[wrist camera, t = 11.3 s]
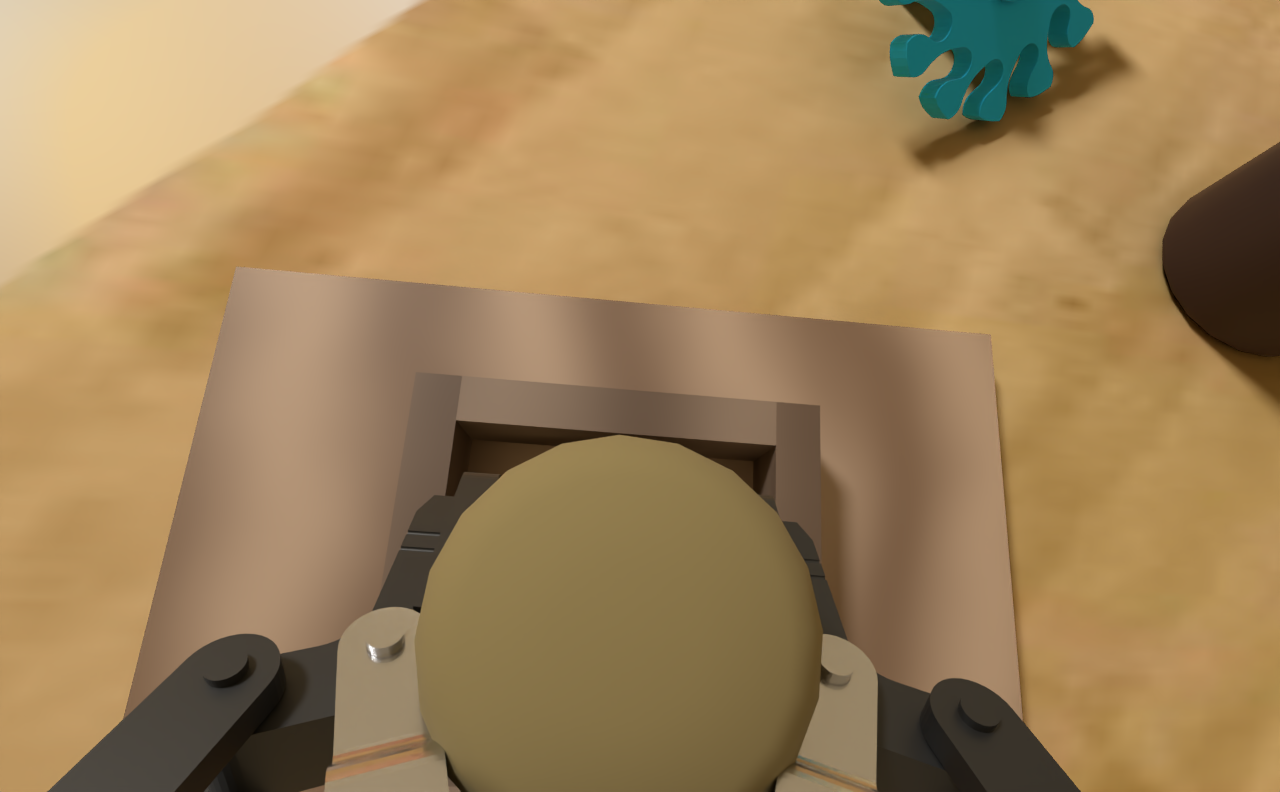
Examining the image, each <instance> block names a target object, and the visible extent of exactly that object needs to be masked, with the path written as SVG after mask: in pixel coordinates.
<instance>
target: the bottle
mask: <svg viewBox="0 0 1280 792" xmlns="http://www.w3.org/2000/svg"><path fill="white" fill-rule="evenodd" d="M1163 267H1164V270H1165V273H1166V276H1167V279H1168V282H1169V285H1170V288H1171V291H1172V293H1173V294H1174V296H1175V297H1176V299H1177V300H1178V301H1179V303H1180V304H1181V306H1182V307H1183V309H1184V310H1185V312H1186V313H1187V315H1188V316H1189V317H1190V318H1192V319H1193V320H1194V321H1195V322H1196V323H1197V324H1198V325H1199V326H1201V327H1202V328H1203V329H1204V330H1205V331H1206V332H1207V333H1208V334H1210V335H1211V336H1212V337H1214V338H1216V339H1218V340H1220V341H1222V342H1224V343H1226V344H1228V345H1229V346H1231V347H1233V348H1235V349H1237V350H1239V351H1244V352H1248V353H1253V354H1257V355H1262V356H1266V357H1267V356H1280V142H1279V143H1277V144H1276V145H1274V146H1273V147H1271V148H1269V149H1268V150H1266V151H1265V152H1263V153H1262V154H1260V155H1258V156H1257V157H1255V158H1254V159H1252V160H1250V161H1249V162H1247V163H1246V164H1244V165H1242V166H1241V167H1239V168H1238V169H1236V170H1234V171H1233V172H1231V173H1230V174H1228V175H1227V176H1225V177H1223V178H1222V179H1220V180H1219V181H1217V182H1215V183H1214V184H1212V185H1211V186H1209V187H1207V188H1206V189H1204V190H1203V191H1201V192H1199V193H1198V194H1196V195H1195V196H1193V197H1192V198H1190V199H1189V200H1188V201H1187V202H1186V203H1185V204H1184V205H1183V206H1182V207H1181V208H1180V209H1179V210H1178V211H1177V212H1176V213H1175V215H1174V216H1173V217H1172V218H1171V219H1170V222H1169V224H1168V227H1167V230H1166V232H1165V235H1164V238H1163Z"/></svg>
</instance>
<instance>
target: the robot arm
mask: <svg viewBox="0 0 1280 792" xmlns="http://www.w3.org/2000/svg"><path fill="white" fill-rule="evenodd" d="M500 477H501V475H500V474H487V473H474V472H464V473H463V475H462V477H461V480H460V482H459V485H458V488H457V490H456V493H455V496H441V495H434V496H433V497H432V498H431V499H429V500H428V501H427V502H426V503H425V504H424V505H423V506H422V507H420V508H419V509H418V510H417V511H416V513H415V515H414V518H413V520H412V522H411V524H410V527H409V529H408V534H406V536H405V538H404V540H403V542H402V545H401V549H400V550H399V551H398V554H397V556H396V558H395V560H394V563H393V565H392V567H391V569H390V572H389V574H388V576H387V578H386V581H385V583H384V585H383V588H382V590H381V592H380V594H379V597H378V599H377V601H376V603H375V606H374V608H373V610H372V612H369V613H367V614H365V615H363V616H361V617H360V618H358V619H357V620H355V621H354V622H353V623H352V624H351V625H350V626H349V627H348V628H347V629H346V630H345V632H344V633H343V635H342V636H341V638H340V639H338V640H336V641H333V642H331V643H328V644H324V645H320V646H316V647H311V648H306V649H301V650H296V651H291V652H286V653H282V654H280V651H279V649H278V647H277V645H276V644H275V643H274V642H273V641H272V640H270V639H269V638H267V637H264V636H262V635H257V634H236V635H231V636H227V637H224V638H220V639H218V640H216V641H213V642H211V643H209V644H207V645H205V646H203V647H202V648H200V649H199V650H197V651H196V652H194V653H193V654H192V655H191V656H190V657H188V658H187V659H186V660H185V661H184V662H183V663H182V664H181V665H180V666H179V667H178V668H177V669H176V670H175V671H174V672H173V673H171V674H170V675H169V676H168V677H167V678H166V679H165V680H164V681H163V682H162V683H161V684H160V685H159V686H158V687H157V688H156V689H155V690H154V691H153V692H152V693H151V694H149V695H148V696H147V697H146V698H145V699H144V700H143V701H142V702H141V703H140V704H139V705H138V706H137V707H136V708H135V709H134V710H133V711H132V712H131V713H130V714H128V715H127V716H126V717H125V718H124V719H123V720H122V721H121V722H120V723H119V724H118V725H117V726H116V727H115V728H114V729H113V730H112V731H111V732H110V733H109V734H108V735H106V736H105V737H104V738H103V739H102V740H101V741H100V742H99V743H98V744H97V745H96V746H95V747H94V748H93V749H92V750H91V751H90V752H89V753H88V754H87V755H85V756H84V757H83V758H82V759H81V760H80V761H79V762H78V763H77V764H76V765H75V766H74V767H73V768H72V769H71V770H70V771H69V772H68V773H67V774H66V775H65V776H63V777H62V778H61V779H60V780H59V781H58V782H57V783H56V784H55V785H54V786H53V787H52V788H51V789H50V790H49V791H48V792H300V791H304V790H308V789H311V788H315V787H319V786H323V785H325V789H324V792H449V787H448V777H447V768H446V758H445V750H444V749H443V748H442V746H441V745H440V744H439V743H437V742H436V741H434V740H432V738H431V736H430V734H429V731H428V729H427V726H426V724H425V721H424V719H423V717H422V714H421V712H420V706H419V693H418V681H417V668H416V656H415V643H414V639H415V634H416V630H417V625H418V621H419V616H420V612H421V607H422V603H423V598H424V594H425V589H426V585H427V581H428V576H429V572H430V569H431V568H432V566H433V564H434V562H435V560H436V559H437V557H438V555H439V553H440V552H441V550H442V548H443V546H444V545H445V543H446V541H447V539H448V538H449V536H450V534H451V532H452V530H453V529H454V527H455V525H456V523H457V522H458V520H459V518H460V516H461V515H462V513H463V512H464V511H465V510H466V509H468V508H469V507H470V506H471V505H472V504H473V503H474V502H475V501H476V500H477V499H478V498H479V497H480V496H481V495H482V494H483V493H484V492H485V491H486V490H488V489H489V488H490V487H491V486H492V485H493V484H494V483H495V482H496V481H497V480H498V479H499V478H500ZM759 496H760V497H761V498H762V499H763V500H764V501H765V502H766V503H767V504H768V505H769V506H770V507H771V508H773V509H774V510H775V511H776V512H777V514H778V510H777V507H776V504H775V500H774V498H773V496H771V495H759ZM778 515H779V514H778ZM782 522H783V524H784V526H785V528H786V529H787V531H788V533H789V535H790V536H791V538H792V540H793V542H794V543H795V545H796V547H797V549H798V550H799V552H800V554H801V556H802V557H803V559H804V561H805V563H806V564H807V566H808V569H809V573H810V577H811V581H812V586H813V590H814V594H815V599H816V603H817V607H818V612H819V616H820V620H821V624H822V629H823V641H822V658H821V674H820V691H819V700H818V703H817V706H816V708H815V711H814V714H813V716H812V719H811V722H810V724H809V727H808V730H807V732H806V735H805V738H804V740H803V743H802V746H801V748H800V751H799V754H798V757H797V759H796V761H795V762H794V763H792V764H791V765H789V766H788V767H787V768H785V769H784V770H783V771H782V772H781V773H780V774H779V775H778V776H777V779H776V782H775V784H774V787H773V790H772V792H1081V791H1080V790H1079V789H1078V788H1077V787H1076V785H1075V784H1074V783H1073V782H1072V780H1071V779H1070V778H1069V777H1068V776H1067V774H1066V773H1065V772H1064V771H1063V770H1062V768H1061V767H1060V766H1059V765H1058V763H1057V762H1056V761H1055V760H1054V759H1053V757H1052V756H1051V755H1050V754H1049V753H1048V751H1047V750H1046V749H1045V748H1044V746H1043V745H1042V744H1041V743H1040V742H1039V740H1038V739H1037V738H1036V737H1035V736H1034V734H1033V733H1032V732H1031V731H1030V730H1029V728H1028V727H1027V726H1026V725H1025V723H1024V722H1023V721H1022V720H1021V719H1020V717H1019V716H1018V715H1017V714H1016V713H1015V711H1014V710H1013V709H1012V708H1011V707H1010V706H1009V704H1008V703H1007V702H1006V701H1005V700H1003V699H1002V698H1001V697H1000V696H999V695H997V694H996V693H995V692H993V691H992V690H990V689H988V688H987V687H985V686H983V685H981V684H979V683H976V682H973V681H970V680H966V679H962V678H949V679H945V680H942V681H940V682H938V683H937V684H936V685H935V686H934V687H933V689H932V691H931V693H928V692H925V691H922V690H919V689H916V688H913V687H910V686H907V685H904V684H901V683H898V682H895V681H893V680H890V679H888V678H886V677H884V676H882V675H880V674H878V673H877V672H876V670H875V668H874V666H873V664H872V662H871V661H870V659H869V658H868V657H867V656H866V655H865V654H864V652H863V651H861V650H860V649H859V648H858V647H857V646H855V645H854V644H852V643H851V642H849V641H848V639H847V637H846V634H845V631H844V628H843V625H842V622H841V620H840V617H839V614H838V611H837V608H836V605H835V602H834V600H833V597H832V594H831V591H830V588H829V585H828V582H827V580H825V574H824V571H823V568H822V565H821V564H820V563H819V557H818V554H817V551H816V548H815V545H814V542H813V540H812V539H811V538H810V537H809V535H808V534H807V533H806V532H805V531H804V530H803V529H802V528H801V526H800V525H799V524H798V523H797V522H788V521H782Z"/></svg>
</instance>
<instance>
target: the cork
mask: <svg viewBox="0 0 1280 792" xmlns="http://www.w3.org/2000/svg"><path fill="white" fill-rule="evenodd" d="M822 641H823V629H822V624H821V620H820V616H819V612H818V607H817V603H816V599H815V594H814V590H813V586H812V581H811V577H810V573H809V569H808V566H807V564H806V563H805V561H804V559H803V557H802V556H801V554H800V552H799V550H798V549H797V547H796V545H795V543H794V542H793V540H792V538H791V536H790V535H789V533H788V531H787V529H786V528H785V526H784V524H783V522H782V521H781V519H780V517H779V515H778V514H777V512H776V511H775V510H774V509H773V508H771V507H770V506H769V505H768V504H767V503H766V502H765V501H764V500H763V499H762V498H761V497H760V496H759V495H758V494H757V493H756V492H755V491H754V490H753V489H751V488H750V487H749V486H748V485H747V484H746V483H745V482H744V481H743V480H742V479H741V478H740V477H739V476H738V475H737V474H736V473H735V472H734V471H732V470H730V469H728V468H726V467H724V466H722V465H720V464H718V463H716V462H714V461H712V460H710V459H708V458H706V457H704V456H702V455H700V454H698V453H696V452H694V451H692V450H690V449H688V448H686V447H684V446H682V445H680V444H677V443H670V442H664V441H657V440H651V439H644V438H638V437H631V436H625V435H615V436H608V437H602V438H596V439H589V440H583V441H576V442H570V443H563V444H560V445H558V446H556V447H554V448H552V449H550V450H548V451H546V452H544V453H542V454H540V455H538V456H536V457H534V458H532V459H530V460H528V461H526V462H524V463H522V464H520V465H518V466H516V467H514V468H512V469H510V470H508V471H506V472H505V473H504V474H503V475H502V476H501V477H500V478H499V479H498V480H497V481H496V482H495V483H494V484H493V485H492V486H491V487H490V488H489V489H488V490H486V491H485V492H484V493H483V494H482V495H481V496H480V497H479V498H478V499H477V500H476V501H475V502H474V503H473V504H472V505H471V506H470V507H469V508H468V509H466V510H465V511H464V512H463V513H462V515H461V516H460V518H459V520H458V522H457V523H456V525H455V527H454V529H453V530H452V532H451V534H450V536H449V538H448V539H447V541H446V543H445V545H444V546H443V548H442V550H441V552H440V553H439V555H438V557H437V559H436V560H435V562H434V564H433V566H432V568H431V569H430V572H429V576H428V581H427V585H426V589H425V594H424V598H423V603H422V607H421V612H420V616H419V621H418V625H417V630H416V634H415V639H414V643H415V656H416V668H417V681H418V693H419V706H420V712H421V714H422V717H423V719H424V721H425V724H426V726H427V729H428V731H429V734H430V736H431V738H432V740H434V741H436V742H437V743H439V744H440V745H441V746H442V748H443V749H444V750H445V758H446V768H447V776H448V778H449V779H450V780H451V781H452V782H453V783H454V784H455V786H456V787H457V788H458V789H459V790H460V791H461V792H772V790H773V787H774V784H775V782H776V779H777V776H778V775H779V774H780V773H781V772H782V771H783V770H784V769H785V768H787V767H788V766H789V765H791V764H792V763H794V762H795V761H796V759H797V757H798V754H799V751H800V748H801V746H802V743H803V740H804V738H805V735H806V732H807V730H808V727H809V724H810V722H811V719H812V716H813V714H814V711H815V708H816V706H817V703H818V700H819V691H820V674H821V658H822Z"/></svg>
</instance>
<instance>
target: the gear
mask: <svg viewBox="0 0 1280 792" xmlns="http://www.w3.org/2000/svg"><path fill="white" fill-rule="evenodd" d="M879 1H880V2H881V3H882V4H884V5H887V6H892V5H904V4H910V3H912V2H914V1H915V2H918V3H920V4H921V5H923V6H924V7H926V8H927V9H928V10H930V11H931V12H932V14H933V16H934V28H933V31H932V34H931V35H930V37H927V36H925V35H922V34H913V35H900V36H898V37H896V38H895V39H894V40H893V41H892V42H891V44H890V61H891V67H892V72H893V76H897V77H917V76H919V75H921V74H922V73H923V72H925V70H926V69H927V68H928V66H929V65H930V64H931V63H932V62H933V61H934V60H935V59H936V58H937V57H938V56H940V55H941V54H942V53H944V52H946V51H948V50H952V51H953V54H954V64H953V67H952V70H951V71H950V73H949V74H948V75H947V76H946V77H944V78H942V79H936V80H932V81H930V82H928V83H927V84H926V85H925V86H924V87H923V89H922V91H921V93H920V95H919V100H920V103H921V105H922V107H923V108H924V109H925V111H926V112H927V113H928V114H929V115H930V116H931V117H933V118H942V119H950V118H952V117H953V116H954V115H955V114H956V113H957V111H958V110H959V108H960V106H961V103H962V100H963V97H964V95H965V93H966V90H967V88H968V87H969V85H970V83H971V81H972V80H973V79H974V77H975V76H976V75H977V74H978V73H979V71H980V70H981V69H982V68H983V67H985V75H984V78H983V80H982V82H981V83H980V85H979V86H978V87H977V88H976V89H974V90H973V91H972V92H971V93H970V94H969V96H968V97H967V99H966V101H965V103H964V106H963V115H964V116H965V117H966V118H969V119H974V120H984V121H1000V120H1001V118H1002V117H1003V115H1004V112H1005V109H1006V104H1007V97H1006V96H1007V87H1008V83H1009V92H1010V95H1011V96H1016V97H1034V96H1037V95H1039V94H1040V93H1042V92H1044V91H1045V90H1047V89H1048V88H1049V87H1051V84H1052V80H1053V70H1052V67H1051V65H1050V63H1049V60H1048V55H1047V37H1048V40H1049V43H1050V45H1051V46H1052V47H1075V46H1076V45H1077V44H1078V43H1079V42H1080V41H1081V40H1082V39H1083V37H1084V36H1085V35H1086V33H1087V32H1088V30H1089V29H1090V27H1091V26H1092V24H1093V20H1094V18H1093V13H1092V11H1091V10H1090V9H1089V8H1086V7H1084V6H1083V5H1081V4H1080V3H1079V1H1078V0H879ZM1019 55H1020V58H1019V62H1018V64H1017V66H1016V68H1015V70H1014V72H1013V74H1012V76H1011V79H1010V82H1009V78H1010V75H1011V72H1012V70H1013V68H1014V65H1015V63H1016V61H1017V59H1018V57H1019Z"/></svg>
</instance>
